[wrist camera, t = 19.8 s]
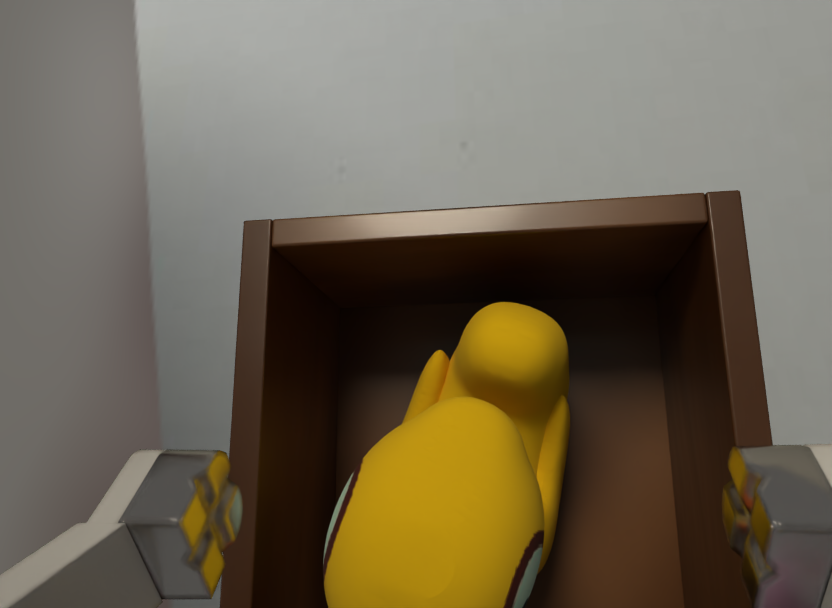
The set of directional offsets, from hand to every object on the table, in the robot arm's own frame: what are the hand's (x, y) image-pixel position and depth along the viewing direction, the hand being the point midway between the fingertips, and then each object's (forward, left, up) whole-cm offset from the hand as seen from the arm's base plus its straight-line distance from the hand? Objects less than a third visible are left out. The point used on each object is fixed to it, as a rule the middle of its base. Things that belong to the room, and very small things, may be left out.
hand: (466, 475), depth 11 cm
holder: (0, -1, -12) cm, 12 cm away
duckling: (-1, -1, -12) cm, 12 cm away
